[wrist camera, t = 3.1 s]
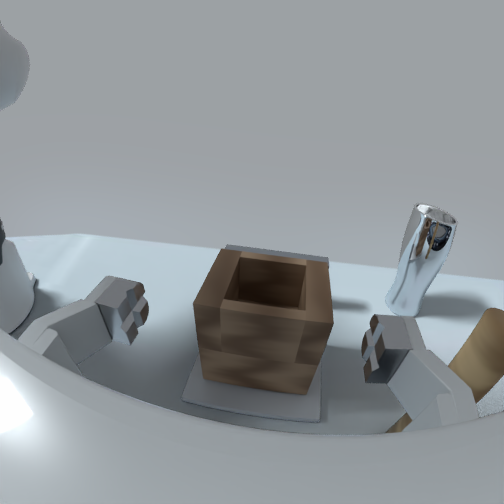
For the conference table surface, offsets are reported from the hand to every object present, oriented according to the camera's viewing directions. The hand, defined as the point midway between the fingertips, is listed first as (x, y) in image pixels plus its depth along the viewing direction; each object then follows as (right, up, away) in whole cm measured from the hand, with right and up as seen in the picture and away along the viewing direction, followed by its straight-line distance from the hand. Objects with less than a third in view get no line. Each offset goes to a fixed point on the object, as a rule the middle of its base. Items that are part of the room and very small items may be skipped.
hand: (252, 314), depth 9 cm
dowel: (+14, -16, +9) cm, 23 cm away
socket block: (+1, -9, +18) cm, 20 cm away
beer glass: (+23, -6, +27) cm, 36 cm away
